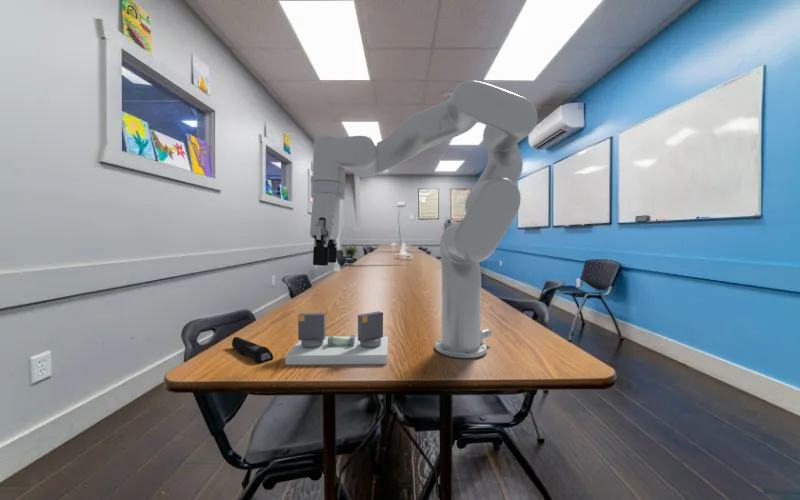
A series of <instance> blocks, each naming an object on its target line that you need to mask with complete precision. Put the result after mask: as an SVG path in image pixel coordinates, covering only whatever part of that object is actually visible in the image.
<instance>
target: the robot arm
mask: <svg viewBox="0 0 800 500" xmlns="http://www.w3.org/2000/svg"><path fill="white" fill-rule="evenodd" d="M537 111H538V110H537V109H536V107H535V105H534V104H533V103H532V102H531V101H530V100H529V99H527V98H526V97H524V96H522V95H521V96H520V95H518V94H516V93H514V92H512V91H508V90H506V89H503V88H501V87H497V86H495V85H493V84H489V83H488V82H487V83H486V82H482V81H478V80H470V79H469V80H465V81H462V82H460V83H459V84H458V85H457V86H456V87H455V88H454V89H453V91H452V94H451V95H450V97H449V98H448V99H447V100H445V101H443V102H441V103H438V104H435V105H433V106H431V107H428V108H426V109H424V110H421V111H418V112H416V113H413V114H411V115H410V116H407V118H406V119H404V121H402V122H401V124H400V125H399V126H398V127H397V128H396V129H395V131H393V132H392V133H391V134H389V135H388V136H386V138H384V139H382V140H381V141H378V142H376V141H375V140H374V139H373V138H371V137H368V136H367V135H366V136H365V135H353V136H342V137H338V136H335V135H325V134H324V135H320V136H317V137H316V138H315V139H314V142H313V151H312V152H313V154H312V155H313V156H312V157H313V158H312V179H311V181H312V182H311V197H312V198H313V199H312V208H311V215H310V216H311V217H310V228H309V236H310V238H312V239H314V240H313V255H312V264H313V265H314V266H321V267H322V266H323V267H325V266H328V265H329V264H331V263H333V264H334V263H336V262H337V256H338V255H337V252H338V251H337V250H338V249H337V248H338V247H337V246H338V245H337V244H338V242H337V239H338V238H339V232H340V218H341V217H340V216H341V215H340V212H341V211H340V209H341V207H340V206H341V201H343V200H345V191H346V190H345V189H346V170H347V168H349V169H350V172H351V173H352V174H353V175H355V176H356V177H359V178H361V179H362V178H363V179H364V178H371V177H373V176H376V175H379V174H380V173H383V172H386V171H388V170H390V169H392V168H394V167H397V166H398V165H400V164H403V162H405V161H408V160H410V159H411V158H414V157H415V156H417V155H418V154H420V153H422V152H423V151H425V150H428V149H430V148H433V147H434V146H437V145H439V144H442V143H444V142H447V141H449V140H451V139H453V138H456V137H458V136H461V135H462V134H465V133H467V132H469V131H470V130H471V129H472V128H474V126H475V125H476V124H477V123H480V124H482V125H485V127H484V130H483V135H482V140H483V144H484V148H485V150H486V152H487V156H488V161H487V163H486V165H485V167H484V170H483V172H482V173H481V175H480V177H478V180H477V181H476V183H475V185H474V186H473V188H472V189H471V190H470V192H469V194H468V195H467V198H466V200H465V203H464V211H465V215H464V217H463V218H462V220H461V221H458V222H454V223H452V224H450V225H449V226H448V227H446V228H445V230H444V231H443V232H442V233H441V234H442V235H441V236H440V237H441V238H440V241H439V250H440V251H439V252H440V260H441V262H440V263H441V338H439V339H438V340H436V341H435V343H434V348H435V350H436V351H437V352H439V353H440V354H442V355H444V356H447V357H451V358H456V359H457V358H458V359H475V358H480V357H482V356H484V355H486V353H487V350H488V347H487V345H486V344H485V343H484V342H483V341H484V339H485V338H489V337H491V336H492V334H493V333H492V331H491V329H489V328H488V329H487V328H486V329H481V317H482V316H481V315H482V314H481V313H482V311H481V310H482V307H481V306H482V304H481V303H482V302H481V301H482V295H481V294H482V273H481V264H480V263H481V262H483V261H486V260H487V259H488V258H489V257H490V256H492V255H493V254H494V252H495V251H496V249H497V248H498V246H499V245H500V243H501V241H502V239H504V238H503V237H504V236H505V235H506V233H507V232H508V230H509V228H510V226H511V224H512V223H513V221H514V219H515V217H516V216H517V214H518V212H519V209H520V206H521V199H522V197H521V193H520V189H519V187H518V186H517V182H518V181H519V179H520V176H521V175H522V172H523V167H524V165H523V158H522V157H523V156H522V153H521V150H520V148H519V145H518V143H519V142H520V141H522V140H524V138H526V137H528V136H529V135H530V134H531V133H532V132H533V130H535V128H536V126H537V122H538V112H537Z"/></svg>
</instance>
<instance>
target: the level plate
mask: <svg viewBox="0 0 800 500" xmlns="http://www.w3.org/2000/svg"><path fill="white" fill-rule="evenodd" d="M388 339H389V336H388V335H386V336H385V335H383V337H381V345H379V346H376V347H363V346H361V345H360V341H358V335H356V336H355V334H351V335H350V336H348V335H347V336H345V335H344V336H341V335H340V336H338V335H337V336H336V335H334V334H329V335H326V338H325V339H324V340H323V344H322V345H320V346H317V347H311V348H307V347H303V346H301V340H298V342H297V343H296V344H295V345H294V346H293V347H292V348H291V349H290V350H289V351H288V352H287V353H286V354H285V359H284V361H285V365H286V366H290V365H291V366H293V365H295V366H296V365H298V366H299V365H301V366H302V365H303V366H305V365H307V366H309V365H311V366H315V365H316V366H317V365H320V366H321V365H388V348H389V346H388V345H389V340H388Z"/></svg>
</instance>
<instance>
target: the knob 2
mask: <svg viewBox="0 0 800 500" xmlns="http://www.w3.org/2000/svg"><path fill="white" fill-rule="evenodd" d="M357 336H358V341H360V345H361V346H363V347H376V346H379V345H381V337H383V336H384V312H382V311H379V310H378V311H372V312H367V313H361V314H357Z"/></svg>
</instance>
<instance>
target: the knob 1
mask: <svg viewBox="0 0 800 500" xmlns="http://www.w3.org/2000/svg"><path fill="white" fill-rule="evenodd" d="M326 314H327V313H326V312H300V313H299V314H298V315H297V318H298V319H297V324H298V325H297V326H298V327H297V329H298V331H297V334H298V336H297V337H298V338H297V339H298V341H300V340H301V346H303V347H307V348H311V347H317V346H320V345H322V344H323V340H324V339H325V338H326V336H327V334H326V332H327V331H326V330H327V327H326V325H327V324H326V321H327V320H326V319H327V318H326V317H327V315H326Z"/></svg>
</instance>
